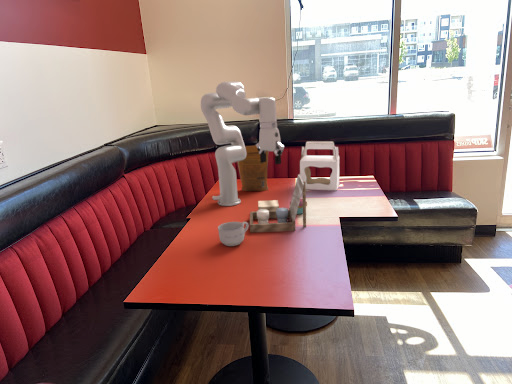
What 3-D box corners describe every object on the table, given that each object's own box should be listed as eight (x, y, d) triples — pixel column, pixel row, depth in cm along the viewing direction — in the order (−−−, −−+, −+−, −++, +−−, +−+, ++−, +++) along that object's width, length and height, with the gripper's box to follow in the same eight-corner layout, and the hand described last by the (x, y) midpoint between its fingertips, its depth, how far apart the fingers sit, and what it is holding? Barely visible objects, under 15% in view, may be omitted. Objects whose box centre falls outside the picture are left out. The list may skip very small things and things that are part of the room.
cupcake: (306, 215, 188) (306, 191, 185) (289, 215, 190) (288, 191, 186) (307, 209, 196) (307, 186, 193) (291, 209, 198) (290, 186, 194)
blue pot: (276, 225, 177) (276, 211, 175) (276, 221, 182) (275, 208, 180) (289, 224, 177) (288, 211, 175) (288, 220, 182) (287, 207, 180)
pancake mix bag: (269, 191, 231) (267, 145, 223) (238, 192, 234) (235, 146, 226) (270, 188, 237) (269, 143, 229) (240, 189, 240) (237, 144, 232)
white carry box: (299, 189, 233) (299, 143, 226) (304, 183, 245) (303, 139, 238) (337, 190, 227) (337, 143, 219) (339, 184, 239) (340, 139, 231)
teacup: (225, 251, 153) (223, 232, 151) (215, 241, 162) (213, 224, 160) (256, 243, 159) (255, 224, 157) (244, 234, 168) (243, 217, 166)
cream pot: (257, 227, 176) (256, 213, 174) (257, 222, 181) (256, 209, 180) (269, 226, 176) (269, 213, 174) (269, 222, 181) (268, 209, 179)
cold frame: (250, 232, 170) (247, 186, 164) (250, 218, 187) (248, 176, 182) (307, 229, 170) (306, 183, 164) (302, 216, 187) (301, 174, 181)
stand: (258, 216, 189) (258, 207, 188) (258, 210, 199) (258, 201, 197) (279, 215, 189) (278, 206, 188) (277, 209, 199) (277, 200, 197)
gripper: (288, 125, 170) (289, 163, 174) (261, 124, 183) (263, 160, 187) (276, 127, 165) (278, 166, 170) (249, 126, 178) (252, 162, 182)
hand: (270, 163), depth 178 cm, fingers open, 9 cm apart
